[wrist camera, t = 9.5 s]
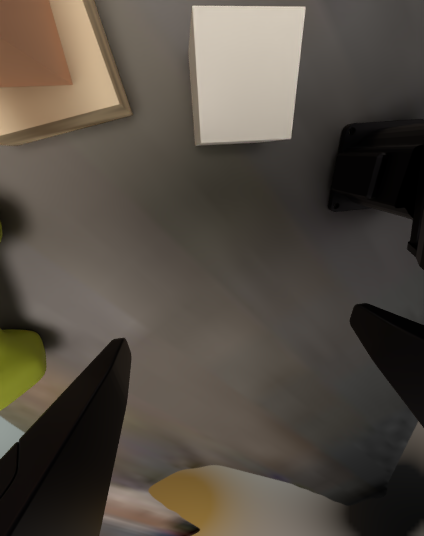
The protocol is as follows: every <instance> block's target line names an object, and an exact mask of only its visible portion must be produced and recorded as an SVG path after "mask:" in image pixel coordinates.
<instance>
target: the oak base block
mask: <svg viewBox="0 0 424 536" xmlns="http://www.w3.org/2000/svg"><path fill="white" fill-rule="evenodd" d="M49 2H50V6H51V9H52V13H53V16H54V20H55V24H56V27H57V31H58V34H59V38H60V41H61V45H62V48H63V52H64V55H65V59H66V62H67V66H68V69H69V73H70V76H71V80H72V83H73V85H58V86H27V87H0V145H8V146H18V145H22V144H26V143H29V142H33V141H37V140H41V139H45V138H48V137H52V136H56V135H60V134H63V133H67V132H71V131H75V130H79V129H82V128H86V127H90V126H94V125H97V124H101V123H105V122H109V121H112V120H116V119H120V118H124V117H128V116H131V115H133V114H132V111H131V108H130V105H129V102H128V99H127V96H126V93H125V90H124V87H123V84H122V82H121V79H120V76H119V73H118V70H117V67H116V64H115V61H114V58H113V55H112V52H111V49H110V46H109V43H108V40H107V37H106V34H105V32H104V29H103V26H102V23H101V20H100V17H99V14H98V11H97V8H96V5H95V2H94V0H49Z"/></svg>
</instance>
